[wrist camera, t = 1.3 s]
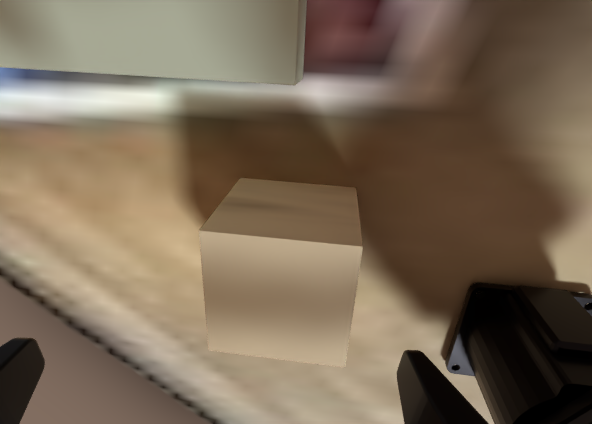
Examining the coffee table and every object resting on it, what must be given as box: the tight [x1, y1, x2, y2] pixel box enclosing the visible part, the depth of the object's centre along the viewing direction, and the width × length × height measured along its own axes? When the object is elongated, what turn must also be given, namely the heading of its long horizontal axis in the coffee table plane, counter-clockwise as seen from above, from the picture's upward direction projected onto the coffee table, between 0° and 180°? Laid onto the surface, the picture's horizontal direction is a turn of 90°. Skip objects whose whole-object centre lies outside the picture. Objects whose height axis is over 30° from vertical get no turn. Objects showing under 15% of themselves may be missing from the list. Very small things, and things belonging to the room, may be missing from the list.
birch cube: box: [199, 178, 363, 368], centre depth 17 cm, size 6×6×6 cm
